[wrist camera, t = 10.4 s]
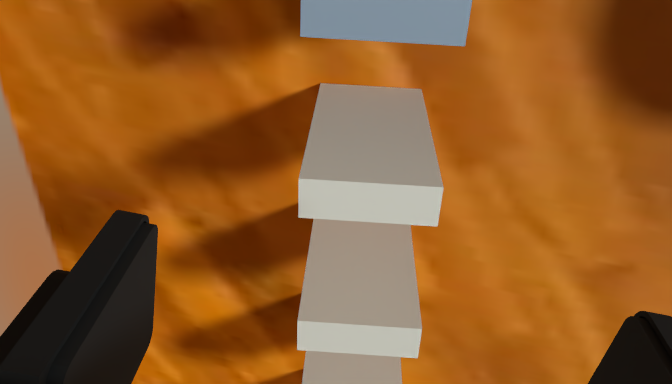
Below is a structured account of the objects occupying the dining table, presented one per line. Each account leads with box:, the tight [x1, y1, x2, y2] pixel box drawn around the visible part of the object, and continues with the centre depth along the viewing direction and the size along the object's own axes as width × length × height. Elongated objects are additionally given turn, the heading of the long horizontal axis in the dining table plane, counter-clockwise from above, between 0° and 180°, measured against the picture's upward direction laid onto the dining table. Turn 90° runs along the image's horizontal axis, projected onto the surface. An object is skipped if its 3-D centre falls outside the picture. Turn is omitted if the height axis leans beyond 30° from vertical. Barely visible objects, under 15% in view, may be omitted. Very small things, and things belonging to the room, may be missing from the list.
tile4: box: [297, 219, 422, 358], centre depth 28 cm, size 2×5×10 cm, turn 88°
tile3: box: [302, 351, 402, 384], centre depth 31 cm, size 2×5×10 cm, turn 88°
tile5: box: [298, 83, 443, 226], centre depth 25 cm, size 2×5×10 cm, turn 88°
